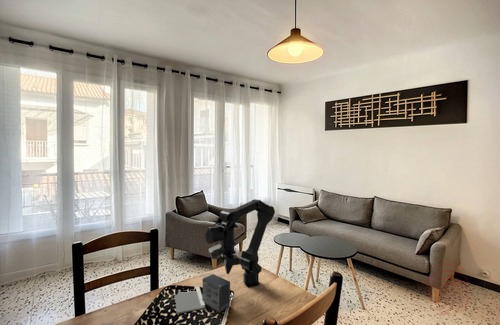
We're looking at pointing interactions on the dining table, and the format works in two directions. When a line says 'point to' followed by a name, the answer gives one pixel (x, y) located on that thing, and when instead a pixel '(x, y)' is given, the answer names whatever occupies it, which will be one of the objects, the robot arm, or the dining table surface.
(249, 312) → the dining table surface
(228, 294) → the small box
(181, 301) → the mat
